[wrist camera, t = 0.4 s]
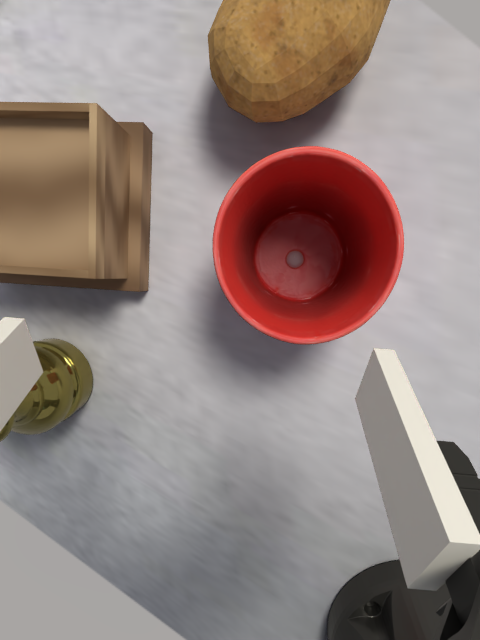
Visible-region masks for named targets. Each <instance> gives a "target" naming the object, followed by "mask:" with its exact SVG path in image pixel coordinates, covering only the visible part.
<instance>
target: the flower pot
mask: <svg viewBox="0 0 480 640" xmlns="http://www.w3.org/2000/svg"><path fill="white" fill-rule="evenodd" d="M403 252H404V233H403V226H402V221H401V217H400V214H399V211H398V208H397V205H396V203H395V201H394V199H393V197H392V195H391V193H390V191H389V190H388V188H387V186H386V185H385V184H384V182H383V181H382V180H381V179H380V178H379V176H378V175H377V174H376V173H375V172H373V171H372V170H371V169H370V168H369V167H368V166H367V165H365V164H364V163H362V162H361V161H359V160H358V159H356V158H354V157H353V156H351V155H348V154H346V153H344V152H341V151H338V150H334V149H330V148H325V147H318V146H304V147H294V148H289V149H285V150H282V151H279V152H276V153H274V154H271V155H269V156H267V157H265V158H263V159H261V160H260V161H258V162H257V163H255V164H254V165H252V166H251V167H250V168H248V169H247V170H246V171H245V172H244V173H243V174H242V175H241V176H240V177H239V178H238V179H237V180H236V182H235V183H234V184H233V185H232V187H231V188H230V190H229V191H228V193H227V194H226V196H225V198H224V200H223V202H222V204H221V206H220V209H219V212H218V215H217V218H216V222H215V226H214V233H213V258H214V265H215V270H216V274H217V278H218V281H219V283H220V286H221V288H222V290H223V292H224V294H225V296H226V298H227V299H228V301H229V302H230V304H231V305H232V307H233V308H234V309H235V311H236V312H237V313H238V314H239V315H240V316H241V317H242V318H243V319H244V320H245V321H246V322H247V323H249V324H250V325H251V326H253V327H254V328H255V329H257V330H259V331H260V332H262V333H264V334H266V335H268V336H270V337H273V338H275V339H278V340H281V341H284V342H288V343H293V344H318V343H324V342H329V341H332V340H335V339H338V338H340V337H343V336H345V335H347V334H349V333H351V332H353V331H354V330H356V329H358V328H359V327H361V326H362V325H363V324H364V323H366V322H367V321H368V320H369V319H370V318H371V317H372V316H373V315H374V314H375V313H376V312H377V311H378V310H379V309H380V308H381V306H382V305H383V304H384V302H385V301H386V299H387V298H388V296H389V295H390V293H391V291H392V289H393V287H394V285H395V283H396V280H397V278H398V275H399V272H400V268H401V264H402V259H403Z"/></svg>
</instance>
